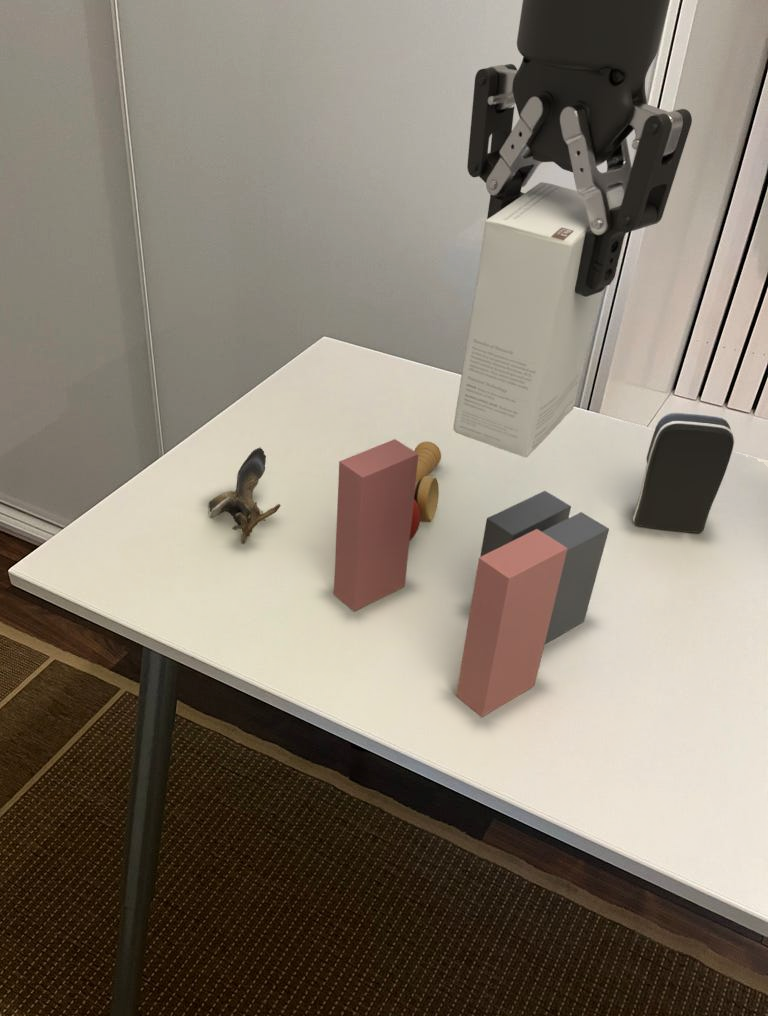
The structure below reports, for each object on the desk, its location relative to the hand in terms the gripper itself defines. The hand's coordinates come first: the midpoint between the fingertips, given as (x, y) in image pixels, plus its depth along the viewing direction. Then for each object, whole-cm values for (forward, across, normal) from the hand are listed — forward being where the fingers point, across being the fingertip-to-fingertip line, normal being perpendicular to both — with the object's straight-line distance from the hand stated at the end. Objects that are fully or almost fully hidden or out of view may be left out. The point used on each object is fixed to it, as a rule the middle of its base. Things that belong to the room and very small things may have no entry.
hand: (543, 272), depth 61 cm
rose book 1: (+32, +11, +2) cm, 34 cm away
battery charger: (+32, +2, -29) cm, 43 cm away
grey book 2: (+32, -2, -7) cm, 33 cm away
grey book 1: (+32, +2, -7) cm, 33 cm away
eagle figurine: (+33, +27, +5) cm, 43 cm away
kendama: (+32, +19, -9) cm, 39 cm away
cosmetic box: (+11, 0, 0) cm, 11 cm away
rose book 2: (+32, -5, +2) cm, 33 cm away
